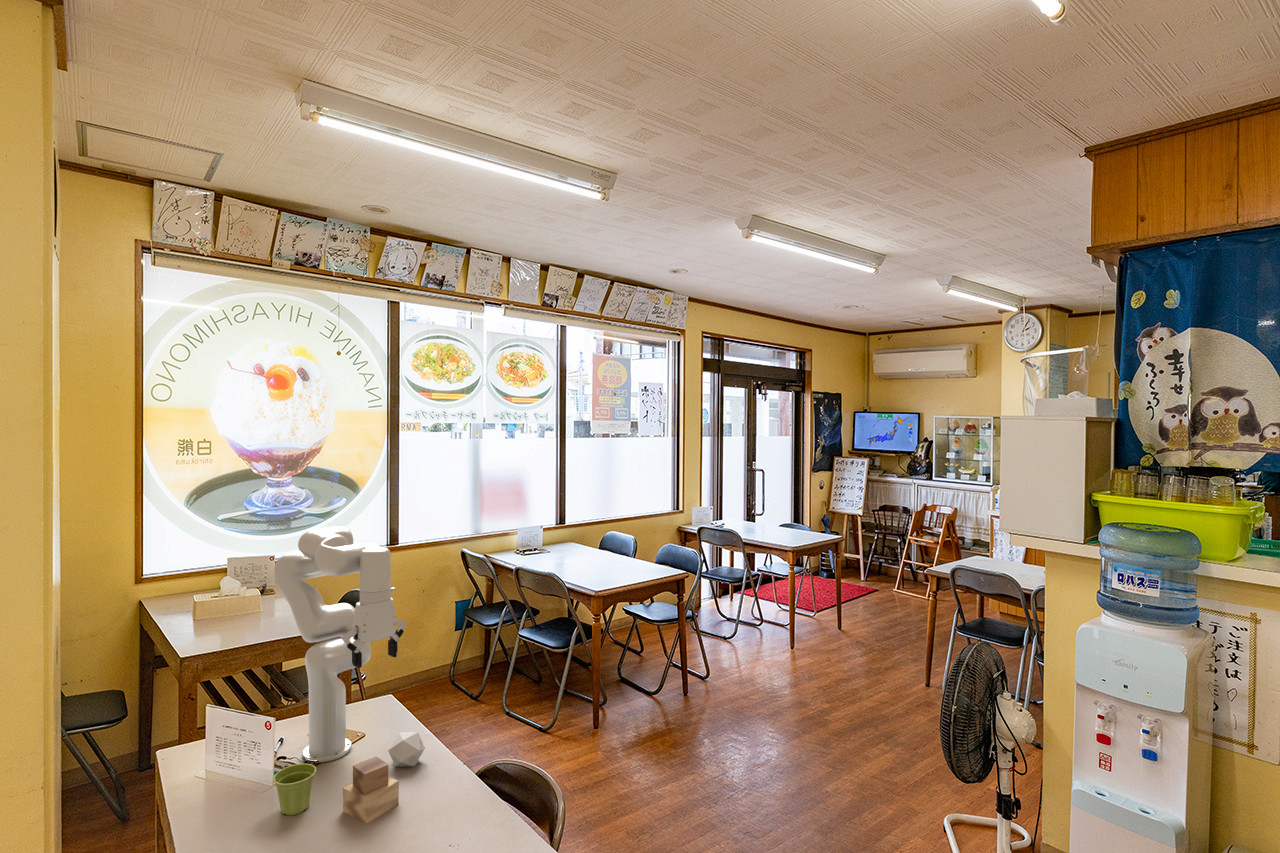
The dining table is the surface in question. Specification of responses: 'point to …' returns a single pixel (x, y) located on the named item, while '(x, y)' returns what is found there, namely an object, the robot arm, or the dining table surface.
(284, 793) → the plant pot
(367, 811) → the oak base
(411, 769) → the dining table surface
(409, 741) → the die
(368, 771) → the walnut block
